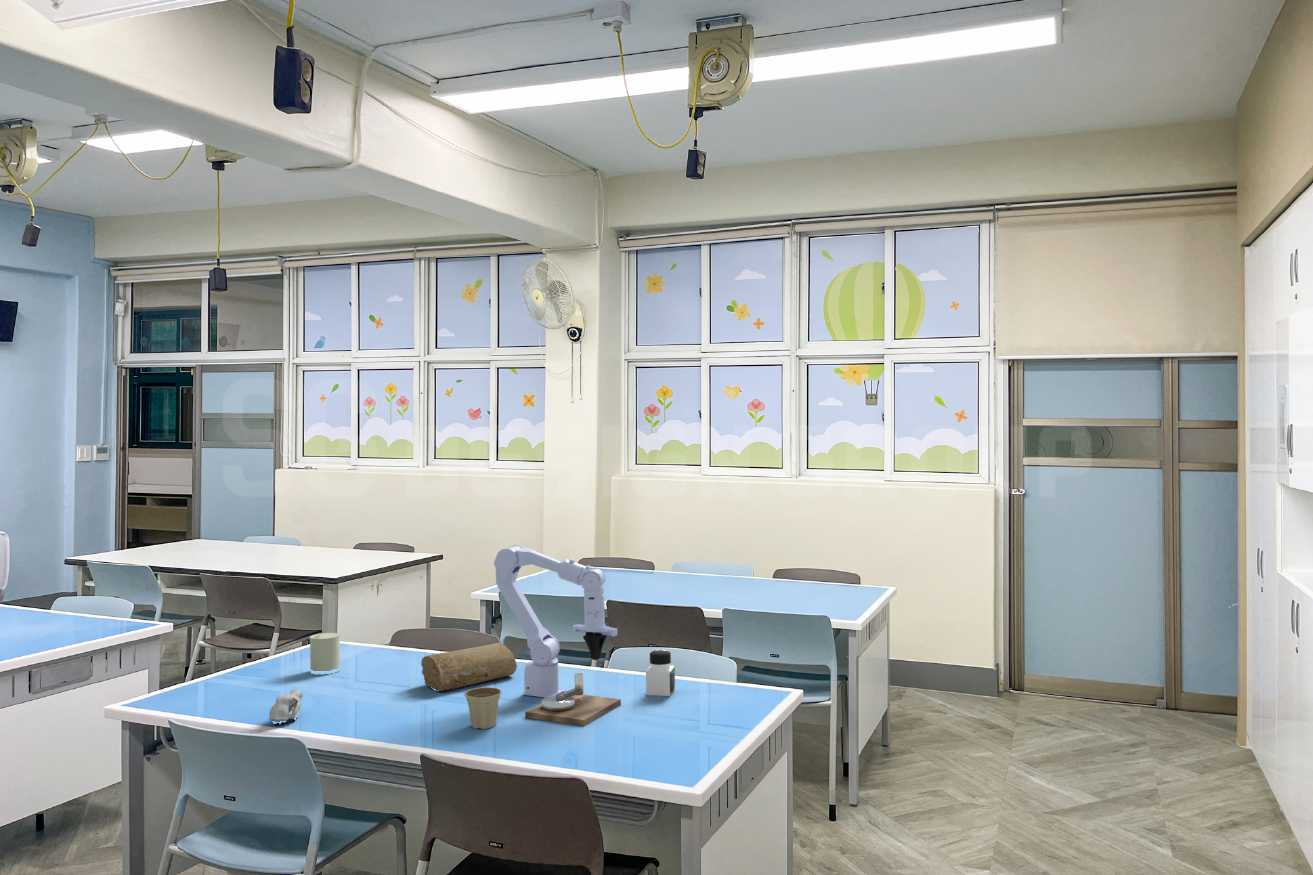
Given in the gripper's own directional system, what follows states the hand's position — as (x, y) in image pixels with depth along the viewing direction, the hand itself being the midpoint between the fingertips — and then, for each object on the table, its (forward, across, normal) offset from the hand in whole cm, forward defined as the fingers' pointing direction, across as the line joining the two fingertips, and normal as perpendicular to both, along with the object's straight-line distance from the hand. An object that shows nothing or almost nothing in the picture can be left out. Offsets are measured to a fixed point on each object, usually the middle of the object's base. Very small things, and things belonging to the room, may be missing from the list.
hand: (595, 659), depth 260 cm
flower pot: (+10, +9, +36) cm, 39 cm away
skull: (+9, +58, +60) cm, 84 cm away
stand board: (+10, -3, +15) cm, 18 cm away
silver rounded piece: (+9, -1, +15) cm, 18 cm away
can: (+9, +93, +22) cm, 96 cm away
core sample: (+10, +44, +7) cm, 45 cm away
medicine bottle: (+11, -14, -12) cm, 21 cm away
